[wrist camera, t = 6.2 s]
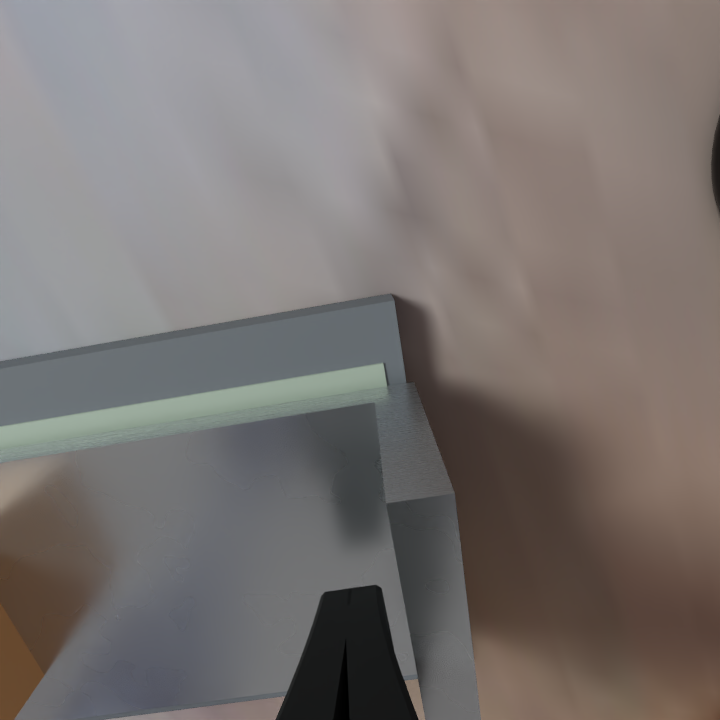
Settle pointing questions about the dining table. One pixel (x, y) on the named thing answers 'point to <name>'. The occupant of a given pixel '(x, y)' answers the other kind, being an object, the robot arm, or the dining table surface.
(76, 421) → the track base
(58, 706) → the sled
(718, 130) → the supplement bottle
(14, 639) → the block
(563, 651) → the dining table surface
